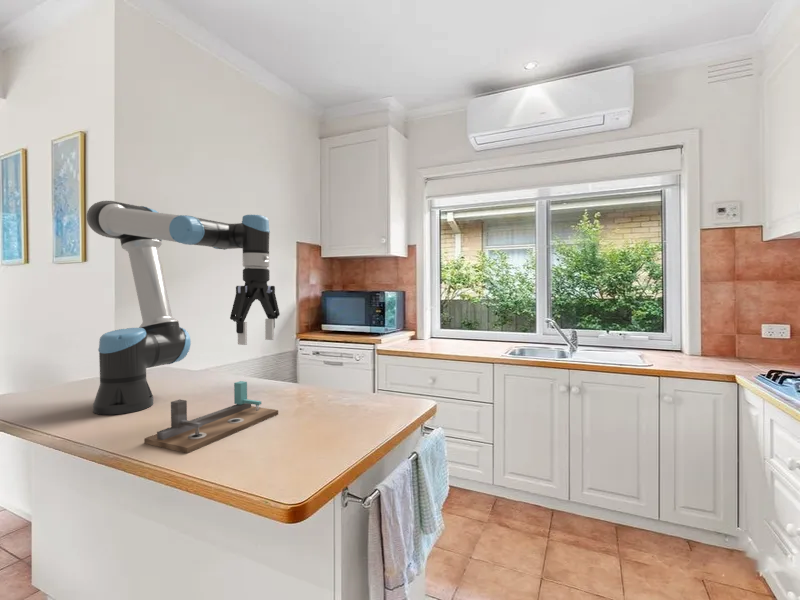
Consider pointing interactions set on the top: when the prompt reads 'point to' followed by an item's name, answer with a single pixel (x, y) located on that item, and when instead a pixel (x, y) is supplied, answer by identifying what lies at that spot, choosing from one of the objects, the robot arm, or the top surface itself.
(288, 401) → the top surface
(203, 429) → the board
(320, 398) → the top surface
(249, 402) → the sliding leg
